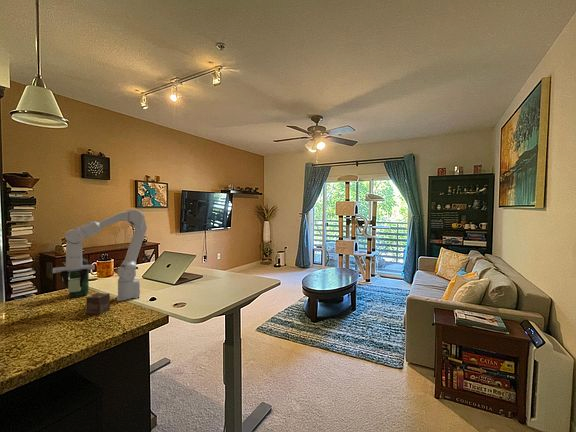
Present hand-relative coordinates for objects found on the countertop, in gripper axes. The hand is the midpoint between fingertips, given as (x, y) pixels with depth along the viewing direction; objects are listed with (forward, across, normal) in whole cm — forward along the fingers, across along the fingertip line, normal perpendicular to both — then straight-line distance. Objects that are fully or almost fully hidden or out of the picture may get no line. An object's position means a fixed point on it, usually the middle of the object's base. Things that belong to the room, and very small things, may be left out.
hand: (74, 287), depth 120 cm
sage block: (+2, 0, 0) cm, 2 cm away
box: (+10, +9, -11) cm, 17 cm away
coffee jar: (+10, 0, +22) cm, 24 cm away
